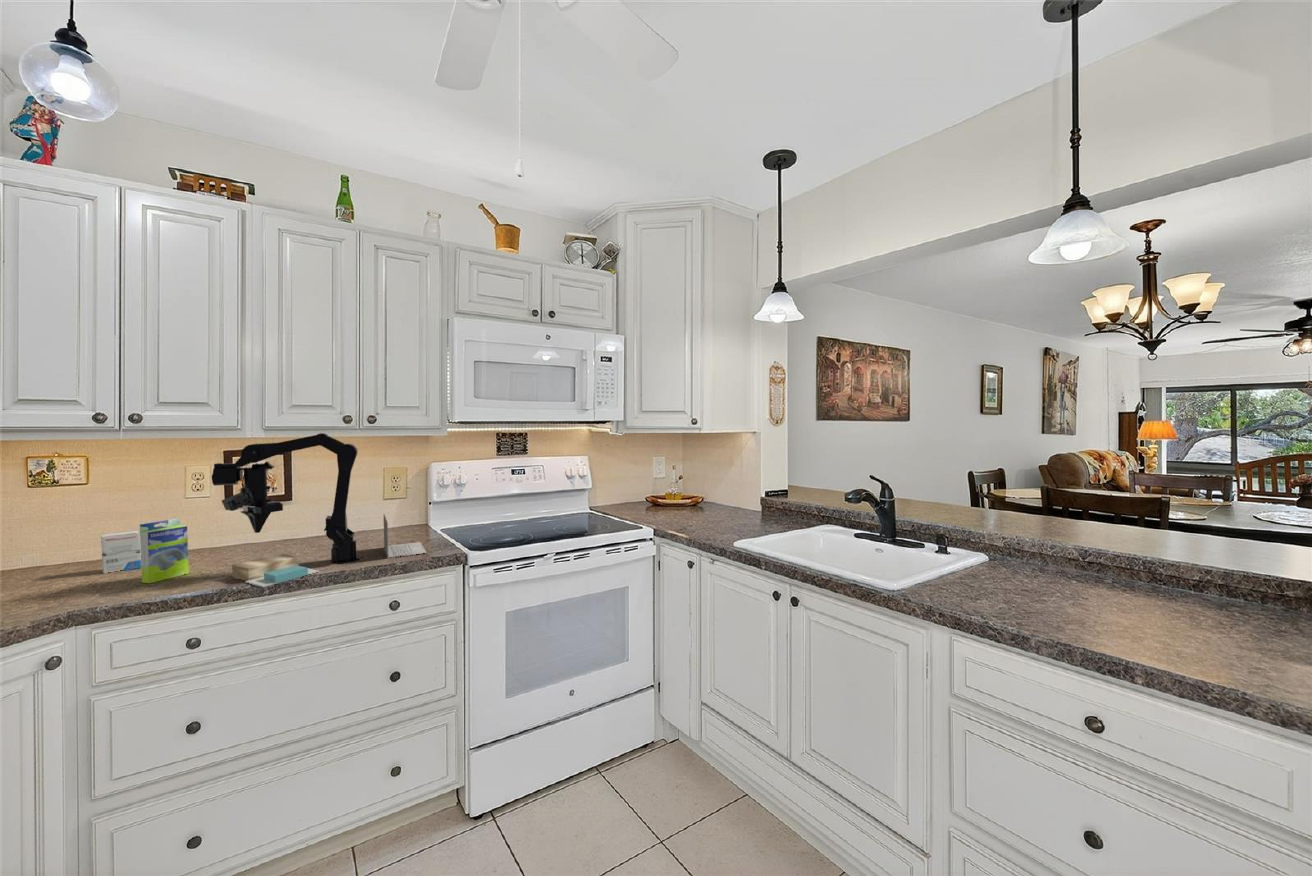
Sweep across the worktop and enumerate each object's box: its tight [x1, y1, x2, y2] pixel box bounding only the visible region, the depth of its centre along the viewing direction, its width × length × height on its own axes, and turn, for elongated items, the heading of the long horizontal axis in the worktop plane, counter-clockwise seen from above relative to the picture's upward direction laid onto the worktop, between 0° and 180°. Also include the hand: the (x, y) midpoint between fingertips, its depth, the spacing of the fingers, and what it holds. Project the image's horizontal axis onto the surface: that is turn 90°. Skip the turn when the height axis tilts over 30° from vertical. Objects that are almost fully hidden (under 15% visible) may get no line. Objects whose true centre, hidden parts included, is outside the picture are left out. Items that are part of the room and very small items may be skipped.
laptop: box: [383, 513, 427, 559], centre depth 190 cm, size 18×12×13 cm
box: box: [139, 517, 190, 584], centre depth 158 cm, size 10×4×17 cm, turn 163°
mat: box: [244, 567, 320, 588], centre depth 158 cm, size 16×9×1 cm, turn 153°
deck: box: [231, 553, 300, 581], centre depth 162 cm, size 14×9×4 cm, turn 153°
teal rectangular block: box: [264, 565, 309, 583], centre depth 157 cm, size 9×6×2 cm, turn 153°
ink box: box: [100, 530, 142, 574], centre depth 167 cm, size 9×5×12 cm, turn 134°
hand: (257, 532), depth 166 cm, fingers closed
